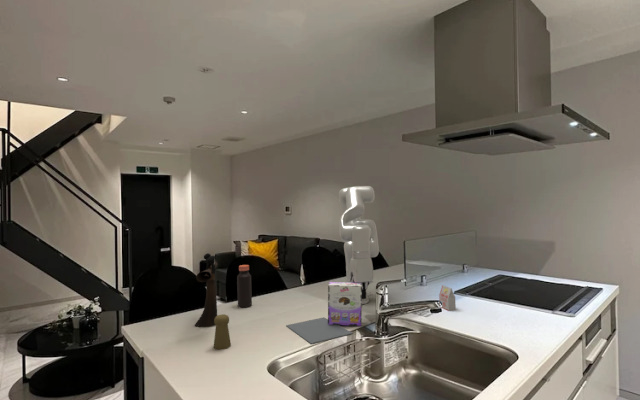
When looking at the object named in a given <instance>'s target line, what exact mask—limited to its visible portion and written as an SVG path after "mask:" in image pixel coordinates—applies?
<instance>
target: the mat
mask: <svg viewBox="0 0 640 400" xmlns="http://www.w3.org/2000/svg"><path fill="white" fill-rule="evenodd" d="M285 327H286V328H288V329H289V330H290V331H292V332H293V333H295V335H298V336H299V337H300V338H302V339H303V340H304V341H306V342H307V343H308V344H310V345H314V344H318V343H321V342H327V341H330V340H334V339H338V338H342V337H347V336H350V335H353V334H354V333H353V332H352V331H350V330H348V329H346V328H344V327H342V325H329V324H328V318H326V317H319V318H314V319H310V320H305V321H300V322H295V323H290V324H286V325H285Z"/></svg>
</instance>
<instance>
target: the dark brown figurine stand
mask: <svg viewBox="0 0 640 400" xmlns="http://www.w3.org/2000/svg"><path fill="white" fill-rule="evenodd" d="M203 259H204V260H205V261H206V262H205V263H206V267H205V270H203V271H200V272H199V273H197V275H196V277H195V279H196V281H197V282H199V283H205V282H206V283H205V284H206V293H205V301H204V308H203V311H202V313H201V315H200V317H199V318H198V320H197V321H196V322H195V323H194V326H195V327H197V326H198V328H200V327H201V328H203V327H204V328H206V327H213V326H216V325H215V323H214V319H215V317H216V316H218V304H217V303H218V301H217V289H216V287H217V286H216V268H217V267H218V261H216V256H215V255H211V253H209V252H208V253H205V254H204V255H203Z"/></svg>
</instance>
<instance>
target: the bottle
mask: <svg viewBox="0 0 640 400" xmlns="http://www.w3.org/2000/svg"><path fill="white" fill-rule="evenodd" d="M238 271H239V273H238V275H237V276H236V286H237V288H236V289H237V307H238V308H242V309H244V308H249V307H251V306H253V301H252V298H253V297H252V296H253V295H252V275H251V274H250V272H249V271H250V265H249V264H242V265H241V264H240V265H239V266H238Z"/></svg>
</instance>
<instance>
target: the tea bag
mask: <svg viewBox="0 0 640 400" xmlns="http://www.w3.org/2000/svg"><path fill="white" fill-rule="evenodd" d="M438 297H439V298H438V299H439V302H440V301H441V302H442V307H440V308H441V309H444V310H446V311H448V312H452V311H456V305H457V304H456V296H455V294H454V290H453V289H452V288H451V287H448V286H447V285H441V289H440V292H439V295H438Z"/></svg>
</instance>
